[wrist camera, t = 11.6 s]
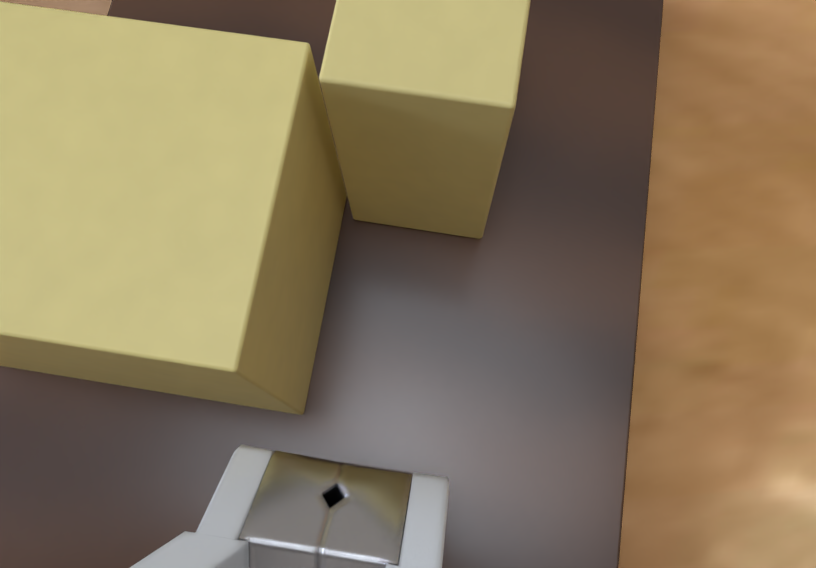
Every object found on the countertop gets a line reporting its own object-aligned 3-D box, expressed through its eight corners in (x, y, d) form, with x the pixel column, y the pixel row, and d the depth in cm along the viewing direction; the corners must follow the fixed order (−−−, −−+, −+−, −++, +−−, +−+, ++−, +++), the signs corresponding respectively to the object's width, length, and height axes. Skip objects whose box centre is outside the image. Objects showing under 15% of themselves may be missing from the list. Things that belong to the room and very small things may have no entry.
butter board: (586, 828, 17) (596, 850, 16) (-84, 700, 17) (-113, 712, 17) (654, 4, 22) (665, -19, 21) (149, -61, 23) (137, -85, 22)
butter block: (303, 415, 18) (236, 372, 11) (-4, 365, 19) (-243, 295, 12) (347, 194, 20) (310, 41, 13) (63, 152, 20) (-115, -16, 13)
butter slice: (482, 240, 19) (515, 107, 13) (352, 220, 20) (317, 79, 13) (510, 44, 21) (554, -167, 14) (390, 28, 21) (377, -188, 14)
